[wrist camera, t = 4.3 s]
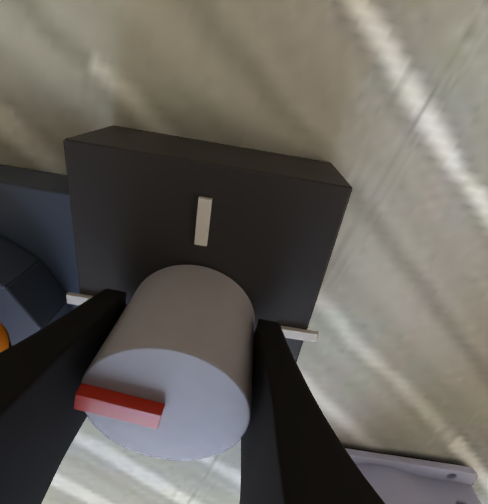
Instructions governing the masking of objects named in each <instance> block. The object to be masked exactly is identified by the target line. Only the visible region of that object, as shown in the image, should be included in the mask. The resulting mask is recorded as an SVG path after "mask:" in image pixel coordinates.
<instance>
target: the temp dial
mask: <svg viewBox="0 0 488 504" xmlns="http://www.w3.org/2000/svg"><path fill="white" fill-rule="evenodd" d="M254 327H255V315H254V310H253V307H252V304H251V302H250V300H249V298H248V296H247V295H246V293H245V292H244V290H243V289H242V288H241V287H240V286H239V285H238V284H237V283H236V282H235V281H233V280H232V279H231V278H229V277H228V276H226V275H224V274H222V273H220V272H218V271H216V270H213V269H211V268H207V267H203V266H198V265H175V266H170V267H166V268H164V269H161V270H158V271H156V272H155V273H153V274H151V275H150V276H148V277H147V278H146V279H145V280H144V281H143V282H142V283H141V284H140V285H139V287H138V288H137V290H136V291H135V293H134V295H133V296H132V298H131V300H130V301H129V303H128V304H127V306H126V308H125V309H124V311H123V312H122V314H121V316H120V317H119V319H118V321H117V322H116V324H115V325H114V327H113V329H112V330H111V332H110V333H109V335H108V337H107V338H106V340H105V342H104V343H103V345H102V346H101V348H100V350H99V351H98V353H97V354H96V356H95V358H94V359H93V361H92V362H91V364H90V366H89V367H88V369H87V371H86V372H85V374H84V376H83V379H82V382H81V385H80V386H79V388H78V390H77V391H76V393H75V401H74V409H77V410H81V411H85V413H86V415H87V416H88V418H89V419H90V421H91V422H92V423H93V425H94V426H95V427H96V428H97V429H98V430H99V431H100V432H102V433H103V434H104V435H105V436H107V437H108V438H109V439H111V440H112V441H114V442H116V443H117V444H119V445H121V446H123V447H125V448H127V449H129V450H132V451H134V452H137V453H140V454H143V455H147V456H150V457H155V458H160V459H168V460H194V459H201V458H206V457H210V456H213V455H216V454H219V453H221V452H223V451H225V450H227V449H229V448H230V447H232V446H233V445H234V444H236V443H237V442H238V441H239V440H240V439H241V438H242V437H243V435H244V433H245V432H246V430H247V428H248V426H249V423H250V418H251V404H252V378H253V351H254Z"/></svg>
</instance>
